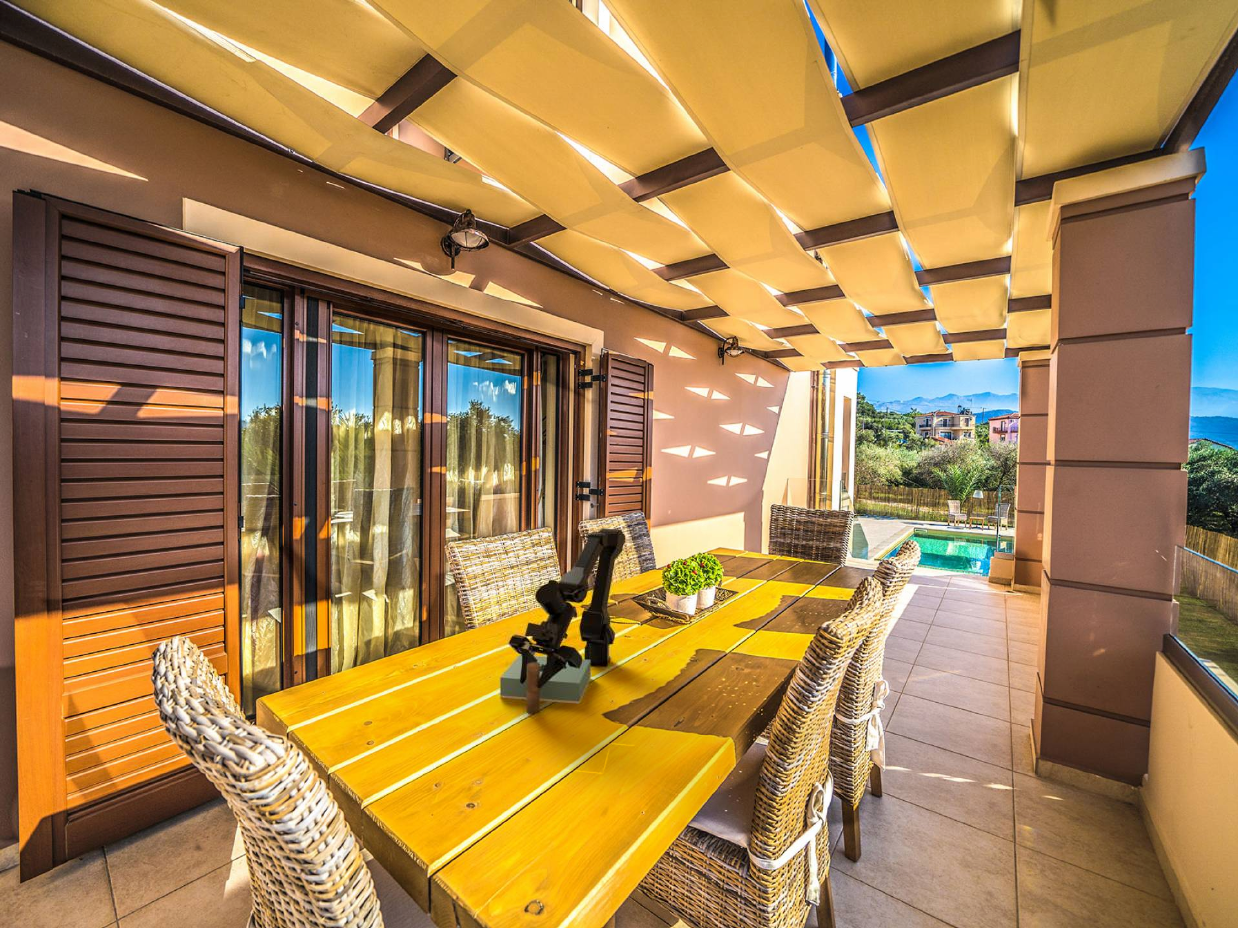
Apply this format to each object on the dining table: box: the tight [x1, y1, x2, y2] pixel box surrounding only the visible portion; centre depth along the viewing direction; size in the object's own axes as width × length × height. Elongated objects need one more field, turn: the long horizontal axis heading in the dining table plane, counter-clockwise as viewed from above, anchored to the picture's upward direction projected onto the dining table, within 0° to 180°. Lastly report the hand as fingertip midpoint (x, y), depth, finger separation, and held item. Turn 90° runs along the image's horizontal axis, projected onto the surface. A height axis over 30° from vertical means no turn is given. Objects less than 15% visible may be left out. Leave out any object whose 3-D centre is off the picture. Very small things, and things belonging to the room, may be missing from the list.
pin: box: [526, 662, 541, 715], centre depth 119 cm, size 3×3×11 cm
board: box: [499, 654, 592, 705], centre depth 131 cm, size 20×14×5 cm
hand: (529, 685), depth 118 cm, fingers open, 5 cm apart
